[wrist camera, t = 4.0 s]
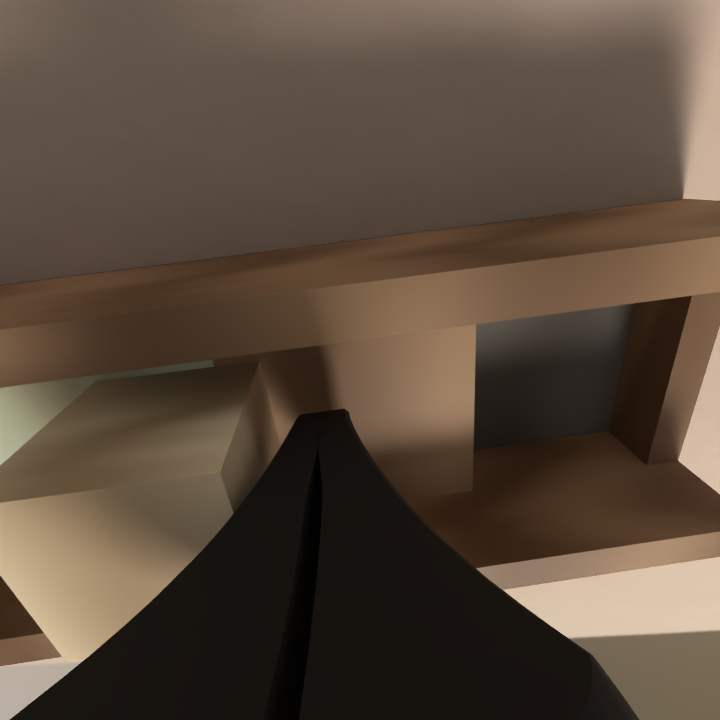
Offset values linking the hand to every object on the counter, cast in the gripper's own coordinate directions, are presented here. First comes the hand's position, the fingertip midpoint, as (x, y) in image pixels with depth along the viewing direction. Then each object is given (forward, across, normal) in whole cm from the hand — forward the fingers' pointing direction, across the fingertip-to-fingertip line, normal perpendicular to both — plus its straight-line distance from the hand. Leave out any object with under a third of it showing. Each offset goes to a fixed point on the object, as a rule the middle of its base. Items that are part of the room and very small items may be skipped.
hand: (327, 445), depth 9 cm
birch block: (+1, +3, 0) cm, 4 cm away
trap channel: (+3, +2, 0) cm, 4 cm away
